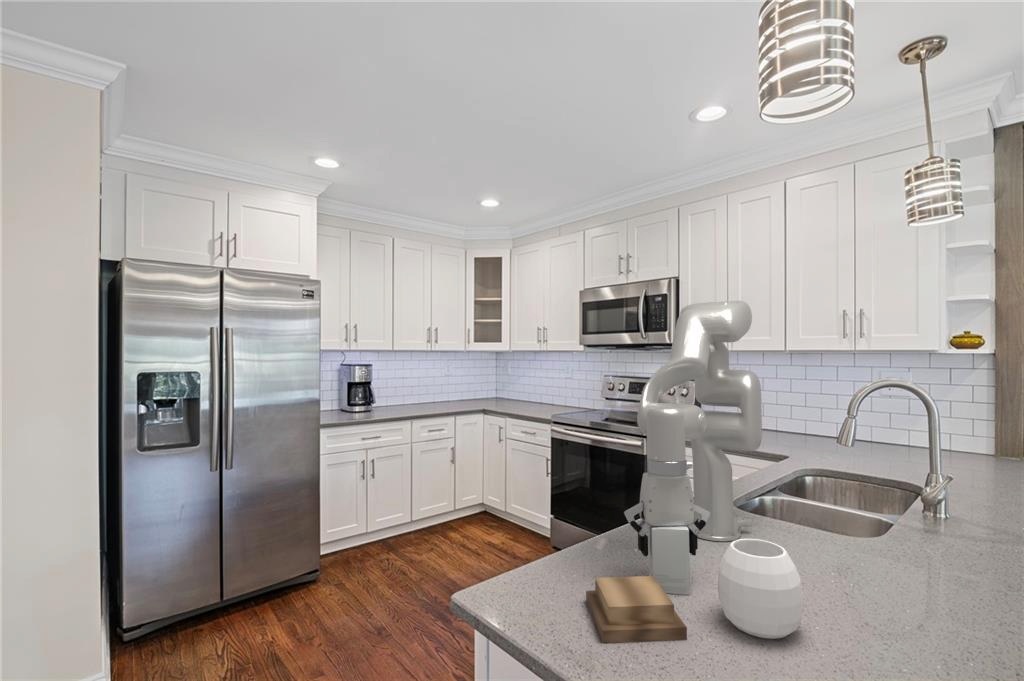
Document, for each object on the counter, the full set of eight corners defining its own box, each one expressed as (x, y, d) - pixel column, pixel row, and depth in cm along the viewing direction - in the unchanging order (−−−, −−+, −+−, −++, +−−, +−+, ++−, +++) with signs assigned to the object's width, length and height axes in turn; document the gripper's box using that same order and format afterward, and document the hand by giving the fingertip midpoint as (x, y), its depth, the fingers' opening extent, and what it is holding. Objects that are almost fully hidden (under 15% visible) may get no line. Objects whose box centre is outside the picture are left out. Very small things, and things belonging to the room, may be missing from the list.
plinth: (658, 598, 97) (657, 572, 97) (687, 639, 83) (686, 608, 83) (586, 601, 96) (585, 574, 96) (602, 643, 82) (602, 612, 82)
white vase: (707, 607, 93) (705, 533, 94) (779, 607, 93) (777, 533, 93) (737, 648, 80) (734, 563, 81) (821, 648, 80) (818, 563, 80)
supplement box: (691, 596, 98) (689, 530, 98) (651, 593, 99) (650, 528, 100) (686, 579, 105) (684, 518, 105) (649, 576, 106) (647, 516, 107)
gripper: (700, 463, 107) (701, 546, 106) (619, 464, 106) (620, 547, 105) (716, 471, 99) (718, 559, 98) (629, 472, 98) (630, 561, 98)
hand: (667, 553), depth 102 cm, fingers open, 9 cm apart
